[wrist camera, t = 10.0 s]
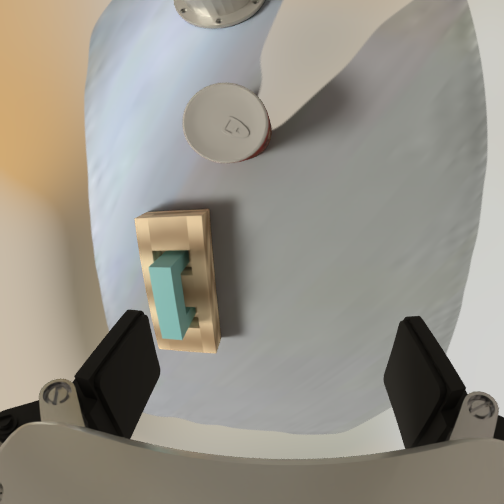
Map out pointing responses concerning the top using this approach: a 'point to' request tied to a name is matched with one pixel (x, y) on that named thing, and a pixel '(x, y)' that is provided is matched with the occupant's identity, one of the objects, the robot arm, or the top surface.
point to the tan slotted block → (183, 272)
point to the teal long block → (171, 294)
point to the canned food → (226, 123)
